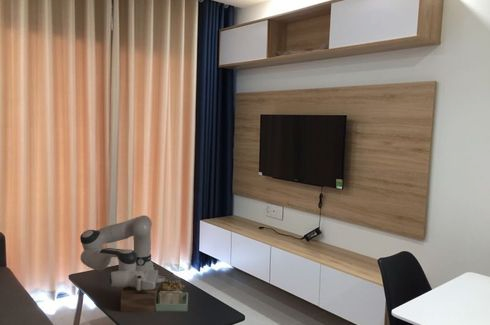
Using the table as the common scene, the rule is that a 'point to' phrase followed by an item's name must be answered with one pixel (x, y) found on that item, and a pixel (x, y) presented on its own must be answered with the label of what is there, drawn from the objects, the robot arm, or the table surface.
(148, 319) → the table surface
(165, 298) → the birch block
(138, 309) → the walnut ledge
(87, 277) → the table surface
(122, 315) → the table surface
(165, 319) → the table surface
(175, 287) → the mineral formation
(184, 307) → the bin
